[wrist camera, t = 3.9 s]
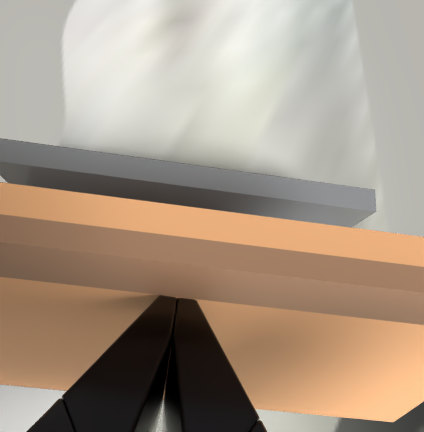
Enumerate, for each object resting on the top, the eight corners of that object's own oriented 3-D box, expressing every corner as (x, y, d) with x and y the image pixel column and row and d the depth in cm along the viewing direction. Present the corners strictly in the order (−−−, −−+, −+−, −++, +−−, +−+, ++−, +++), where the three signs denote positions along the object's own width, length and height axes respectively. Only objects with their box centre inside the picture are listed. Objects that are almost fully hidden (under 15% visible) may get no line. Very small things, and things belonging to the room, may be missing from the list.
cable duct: (329, 394, 18) (385, 412, 13) (-15, 360, 17) (-86, 366, 12) (328, 224, 21) (375, 189, 16) (34, 186, 20) (-9, 137, 15)
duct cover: (386, 397, 13) (398, 441, 12) (-83, 350, 12) (-110, 394, 11) (564, 255, 8) (612, 315, 7) (-266, 147, 7) (-353, 199, 6)
